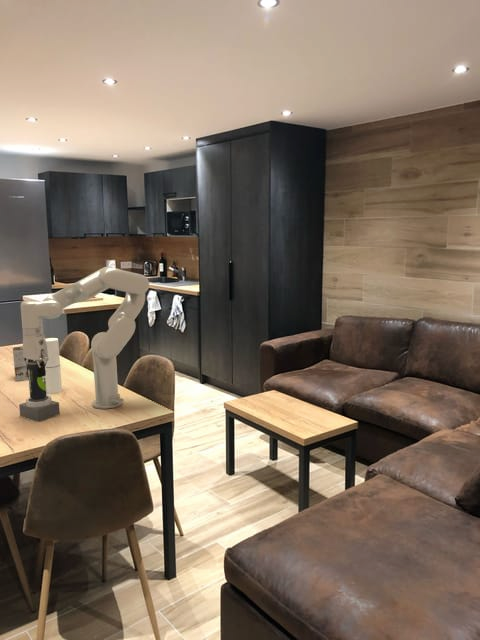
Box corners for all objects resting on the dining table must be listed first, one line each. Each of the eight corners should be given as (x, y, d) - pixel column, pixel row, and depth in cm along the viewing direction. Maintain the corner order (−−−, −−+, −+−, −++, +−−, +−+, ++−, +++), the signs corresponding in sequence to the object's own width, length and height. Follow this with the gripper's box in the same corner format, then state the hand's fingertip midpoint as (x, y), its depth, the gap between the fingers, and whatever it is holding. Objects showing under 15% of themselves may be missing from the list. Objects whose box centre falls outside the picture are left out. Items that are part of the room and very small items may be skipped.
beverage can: (27, 398, 202) (23, 362, 200) (40, 394, 207) (37, 359, 205) (36, 401, 199) (33, 364, 196) (49, 396, 204) (47, 361, 201)
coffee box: (29, 380, 255) (26, 349, 252) (15, 381, 253) (12, 350, 250) (29, 375, 264) (26, 345, 261) (16, 376, 261) (13, 346, 258)
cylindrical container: (56, 394, 232) (52, 341, 227) (42, 393, 233) (38, 341, 229) (65, 389, 238) (61, 338, 234) (51, 388, 240) (47, 337, 236)
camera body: (59, 414, 205) (58, 397, 204) (38, 421, 197) (37, 404, 196) (41, 408, 212) (40, 393, 211) (20, 416, 204) (18, 399, 202)
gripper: (54, 332, 197) (58, 376, 200) (28, 328, 206) (31, 370, 209) (38, 335, 191) (42, 380, 194) (11, 331, 200) (15, 374, 203)
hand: (36, 374), depth 202 cm, fingers closed on beverage can, 6 cm apart
